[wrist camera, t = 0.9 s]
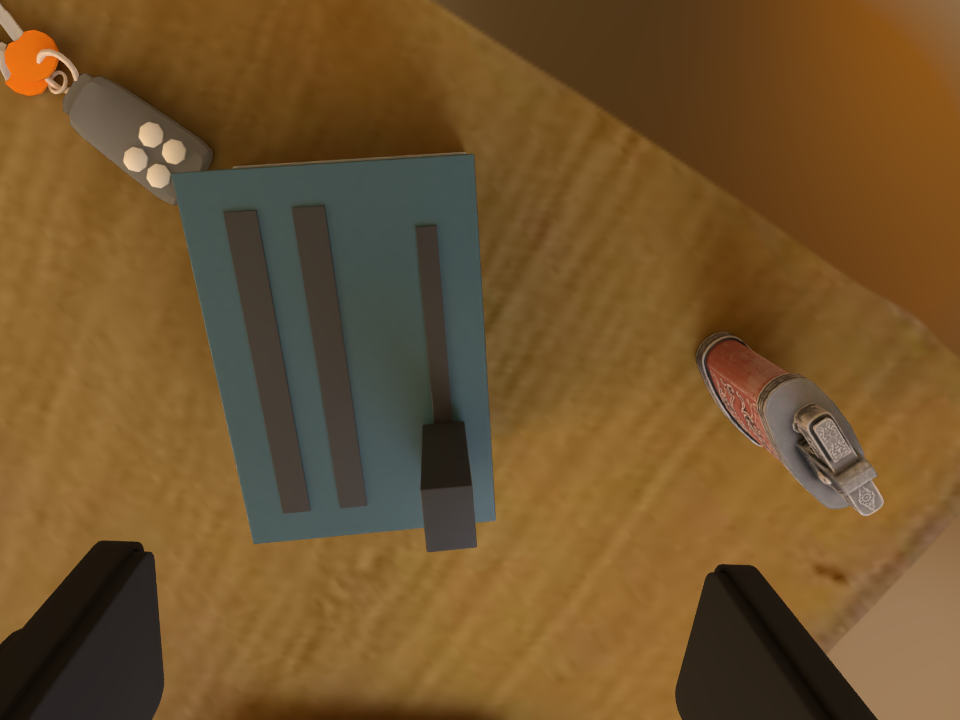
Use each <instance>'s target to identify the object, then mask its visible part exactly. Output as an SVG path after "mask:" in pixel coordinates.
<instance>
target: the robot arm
mask: <svg viewBox="0 0 960 720" xmlns="http://www.w3.org/2000/svg"><path fill="white" fill-rule="evenodd" d="M163 688H164V673H163V660H162V648H161V635H160V622H159V610H158V597H157V585H156V572H155V560H154V555H153V553H152V552H144V548H143V546H142V544H141V543H139V542H128V541H99V542H98V543H96V544H95V545H94V546H93V547H92V548H91V550H90V551H89V552H88V553H87V554H86V555H85V556H84V558H83V559H82V560H81V561H80V562H79V563H78V565H77V566H76V567H75V568H74V569H73V570H72V571H71V573H70V574H69V575H68V576H67V577H66V578H65V580H64V581H63V582H62V583H61V584H60V585H59V586H58V588H57V589H56V590H55V591H54V592H53V593H52V595H51V596H50V597H49V598H48V599H47V600H46V601H45V603H44V604H43V605H42V606H41V607H40V608H39V610H38V611H37V612H36V613H35V614H34V615H33V616H32V618H31V619H30V620H29V621H28V622H27V623H26V625H25V626H24V627H23V628H22V629H20V630H17V631H15V632H13V633H12V634H11V635H10V636H9V637H7V638H6V639H5V640H4V641H3V642H2V643H1V644H0V720H152V718H153V716H154V714H155V712H156V710H157V708H158V706H159V703H160V700H161V697H162V693H163ZM675 697H676V704H677V708H678V711H679V714H680V716H681V718H682V720H878V719H877V718H876V717H875V716H874V714H873V713H872V712H871V711H870V709H869V708H868V707H867V706H866V704H865V703H864V702H863V701H862V699H861V698H860V697H859V696H858V694H857V693H856V692H855V691H854V689H853V688H852V687H851V686H850V684H849V683H848V682H847V681H846V679H845V678H844V677H843V676H842V674H841V673H840V672H839V671H838V669H837V668H836V667H835V666H834V664H833V663H832V662H831V661H830V660H829V658H828V657H827V656H826V654H825V653H824V652H823V651H822V649H821V648H820V647H819V646H818V644H817V643H816V642H815V641H814V639H813V638H812V637H811V636H810V634H809V633H808V632H807V631H806V629H805V628H804V627H803V626H802V624H801V623H800V622H799V621H798V619H797V618H796V617H795V616H794V614H793V613H792V612H791V610H790V609H789V608H788V607H787V605H786V604H785V603H784V602H783V600H782V599H781V598H780V597H779V595H778V594H777V593H776V592H775V590H774V589H773V588H772V587H771V585H770V584H769V583H768V582H767V580H766V579H765V578H764V577H763V575H762V574H761V573H760V572H759V571H758V570H757V569H756V568H755V567H754V566H751V565H728V564H721V565H718V566H717V567H716V569H715V571H714V572H711V573H709V574H708V575H707V576H706V579H705V582H704V586H703V589H702V593H701V597H700V600H699V604H698V608H697V611H696V615H695V619H694V623H693V626H692V630H691V634H690V637H689V641H688V645H687V648H686V652H685V656H684V659H683V663H682V667H681V670H680V674H679V678H678V681H677V685H676V690H675Z"/></svg>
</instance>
